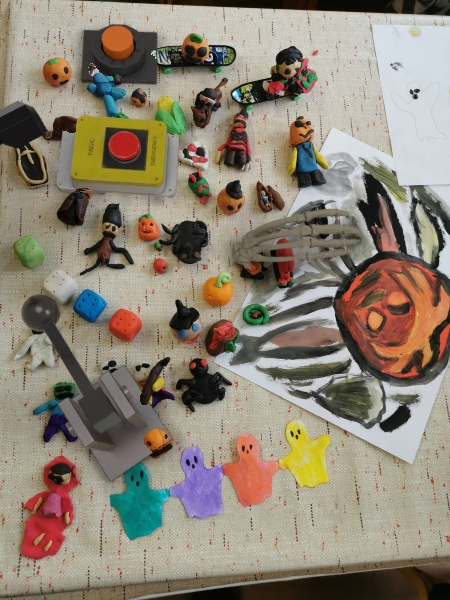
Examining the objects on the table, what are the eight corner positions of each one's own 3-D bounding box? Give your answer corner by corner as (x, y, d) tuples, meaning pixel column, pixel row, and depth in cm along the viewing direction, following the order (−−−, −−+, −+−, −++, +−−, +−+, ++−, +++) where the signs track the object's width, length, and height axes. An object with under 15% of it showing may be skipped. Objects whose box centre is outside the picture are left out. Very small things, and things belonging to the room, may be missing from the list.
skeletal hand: (364, 254, 72) (381, 246, 65) (235, 279, 70) (241, 273, 64) (354, 209, 72) (371, 197, 66) (226, 233, 70) (231, 223, 64)
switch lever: (23, 317, 56) (8, 300, 53) (55, 298, 57) (42, 280, 53) (95, 440, 49) (83, 429, 46) (130, 417, 50) (120, 404, 47)
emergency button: (175, 181, 67) (48, 173, 66) (175, 198, 71) (56, 190, 70) (179, 114, 70) (57, 106, 69) (179, 134, 74) (64, 126, 73)
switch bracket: (64, 405, 63) (24, 386, 47) (125, 366, 65) (106, 334, 49) (111, 482, 61) (86, 488, 45) (172, 439, 63) (169, 430, 47)
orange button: (102, 59, 74) (101, 50, 72) (104, 34, 75) (102, 25, 73) (133, 60, 74) (132, 51, 72) (134, 35, 75) (133, 26, 74)
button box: (81, 82, 75) (78, 69, 73) (84, 33, 77) (81, 19, 75) (156, 84, 76) (155, 72, 73) (157, 35, 78) (156, 22, 76)
